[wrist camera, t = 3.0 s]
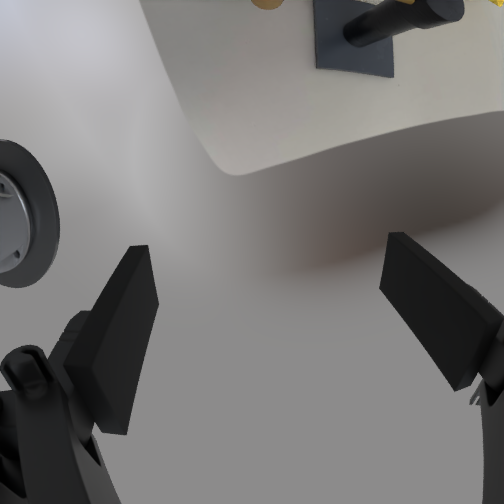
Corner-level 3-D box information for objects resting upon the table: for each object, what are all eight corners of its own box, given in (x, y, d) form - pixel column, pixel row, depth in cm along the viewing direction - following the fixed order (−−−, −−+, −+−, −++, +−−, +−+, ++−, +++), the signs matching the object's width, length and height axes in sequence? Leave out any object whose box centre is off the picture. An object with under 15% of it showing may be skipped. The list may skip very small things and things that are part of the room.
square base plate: (316, 68, 31) (366, 46, 19) (312, -4, 27) (355, -52, 14) (390, 78, 32) (461, 71, 19) (386, 10, 28) (450, -20, 15)
